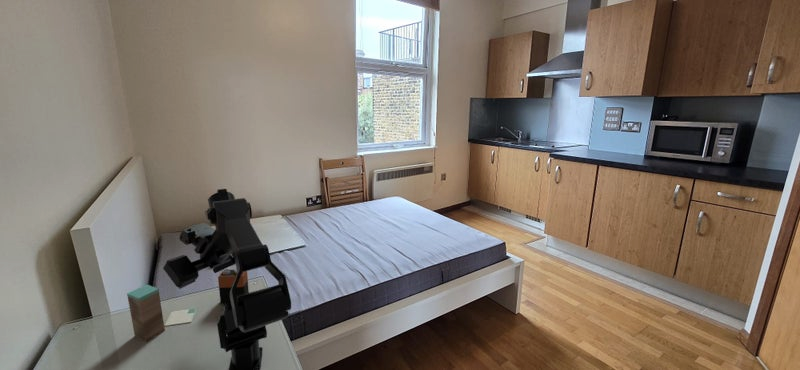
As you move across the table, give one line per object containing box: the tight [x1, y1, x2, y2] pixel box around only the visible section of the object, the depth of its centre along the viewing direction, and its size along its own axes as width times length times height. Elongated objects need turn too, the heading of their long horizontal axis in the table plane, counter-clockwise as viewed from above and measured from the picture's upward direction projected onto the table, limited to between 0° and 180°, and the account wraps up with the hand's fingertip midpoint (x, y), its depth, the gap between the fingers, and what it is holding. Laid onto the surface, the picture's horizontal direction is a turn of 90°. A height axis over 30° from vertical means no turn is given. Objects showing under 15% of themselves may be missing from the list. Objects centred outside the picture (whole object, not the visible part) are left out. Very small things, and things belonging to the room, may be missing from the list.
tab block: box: [126, 284, 166, 342], centre depth 81 cm, size 4×4×12 cm
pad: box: [164, 308, 198, 327], centre depth 88 cm, size 6×6×1 cm
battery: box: [217, 268, 250, 305], centre depth 96 cm, size 4×7×10 cm, turn 98°
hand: (197, 278), depth 81 cm, fingers open, 9 cm apart
